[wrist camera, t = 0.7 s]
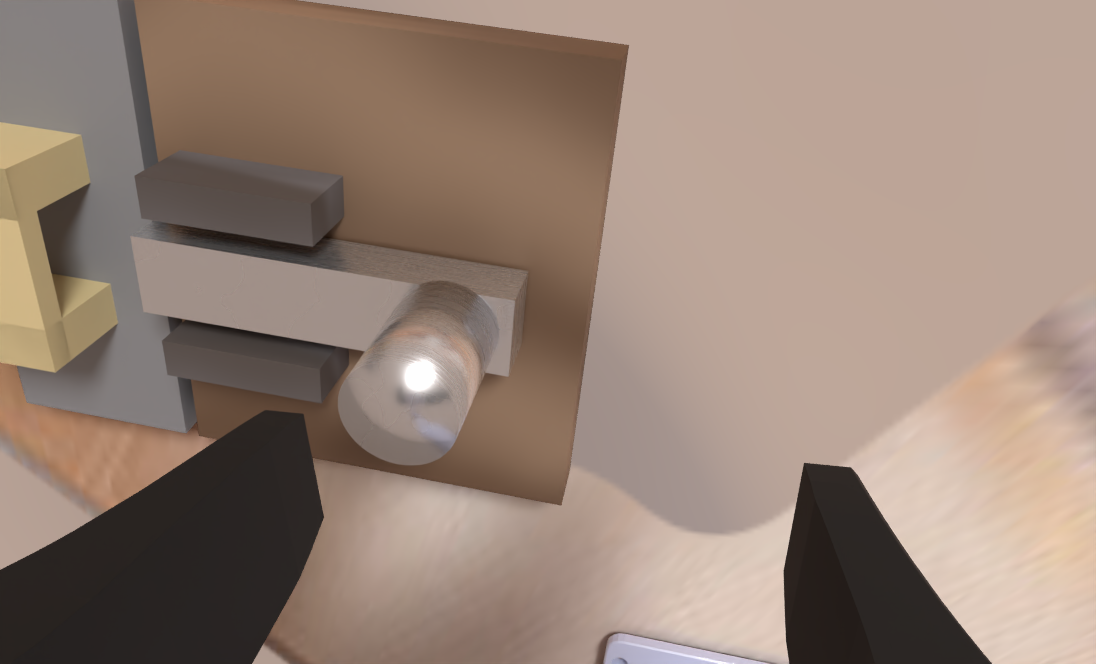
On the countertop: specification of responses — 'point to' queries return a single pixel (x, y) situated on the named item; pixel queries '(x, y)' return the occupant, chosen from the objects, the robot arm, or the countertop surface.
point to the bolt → (352, 321)
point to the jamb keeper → (79, 214)
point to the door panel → (388, 199)
